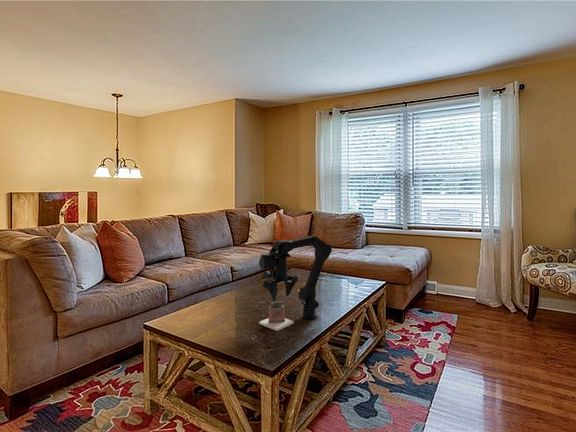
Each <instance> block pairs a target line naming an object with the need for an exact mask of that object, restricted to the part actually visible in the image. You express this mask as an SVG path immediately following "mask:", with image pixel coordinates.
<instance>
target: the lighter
mask: <svg viewBox="0 0 576 432" xmlns="http://www.w3.org/2000/svg"><path fill="white" fill-rule="evenodd" d="M270 304H271V305H270V306H268V318H269V323H281V322H285V316H286V315H285V313H286V312H285V311H286V309H285V308H286V306H285V305H284V304H285V303H284V301H283V300H281V301H277V300H275V301H273V302H271V303H270Z"/></svg>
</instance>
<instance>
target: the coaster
mask: <svg viewBox="0 0 576 432" xmlns="http://www.w3.org/2000/svg"><path fill="white" fill-rule="evenodd" d="M294 322H295V321H293V320H291V319H289V318H285V322H281V323H269V317H268V318H266V319H265V318H264V319H262V320H260V321H259V322H258V325H261V326H264V327H266V328H269V329H271V330H274V331H276V332H278V331H280V330H283V329H285V328H286V327H289V326H292V325H294V324H295V323H294Z"/></svg>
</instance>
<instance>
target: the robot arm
mask: <svg viewBox="0 0 576 432" xmlns="http://www.w3.org/2000/svg"><path fill="white" fill-rule="evenodd" d="M308 246H312V247H313V248H314V261H313V263H312V266H311V269H310V272H309V276H308V278H307V281H306V283H305V285H304V286H301V287H300V289H299V291H298V294H297V295H298V297H297V298H298V300H299V302H300V303H301V305H303V310H302V315H301V316H300V318H301V319H305V320H307V321H309V322H311V321H314V320H315V319H318V318H319V316H318V315H316V311H317V309H318V308H319V305H320V303H319V302H318V301H317V300H316V295H317V294H316V287H317V284H318V281H319V278H320V276H321V272H322V269H323V266H324V264H325V261H326V260H328V259H329V257H330V256H331V254H332V251H333V249H332V246H331V244H328V243H326V242H324V241H323V240H321V239H320V238H319V237H318V236H316V235H312V234H311V235H308V236H304V237H299V238H295V239H290V240H289V239H288V240H286V239H277V240H275V241H274V242H273V246H272V247H271V249H269V252H268V254H261V255H260V258H259V261H258V263H259V264H258V266H259V268H260V269H261V270H266V271H263V272H264V273H263V277H264V279H266V280H264V281H263V282H262V287H263V288H265V289H267V290H268V291H269V294H270V295H271V298H272V301H273V302H275V301H276V298H277V295H278V285H280V284H282V283H284V285H285V295H286V297H289V295H290V294H291V292H292V290H293V288H294V286H295V284H296V283H297V282H298V281H299V277H298V275H297V274H293V273H288V272H289V270H290V269H289V268H288V262H287V261H288V259H287V258H291V257H292V255H290V254H289V253H290V252H292V251H293V250H295V249H298V248H302V247H308ZM268 269H272V271H269V270H268Z"/></svg>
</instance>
